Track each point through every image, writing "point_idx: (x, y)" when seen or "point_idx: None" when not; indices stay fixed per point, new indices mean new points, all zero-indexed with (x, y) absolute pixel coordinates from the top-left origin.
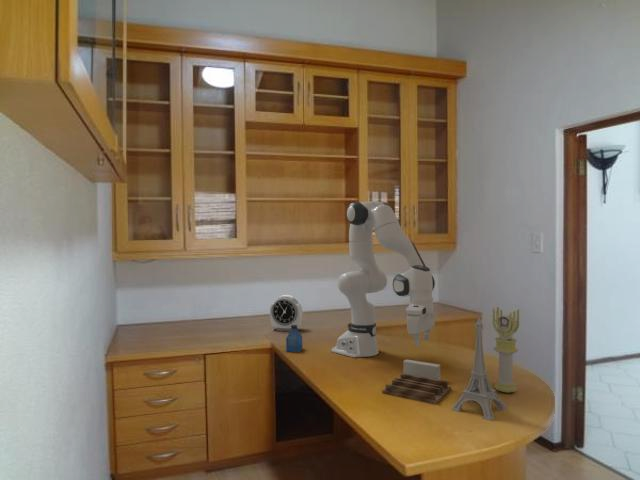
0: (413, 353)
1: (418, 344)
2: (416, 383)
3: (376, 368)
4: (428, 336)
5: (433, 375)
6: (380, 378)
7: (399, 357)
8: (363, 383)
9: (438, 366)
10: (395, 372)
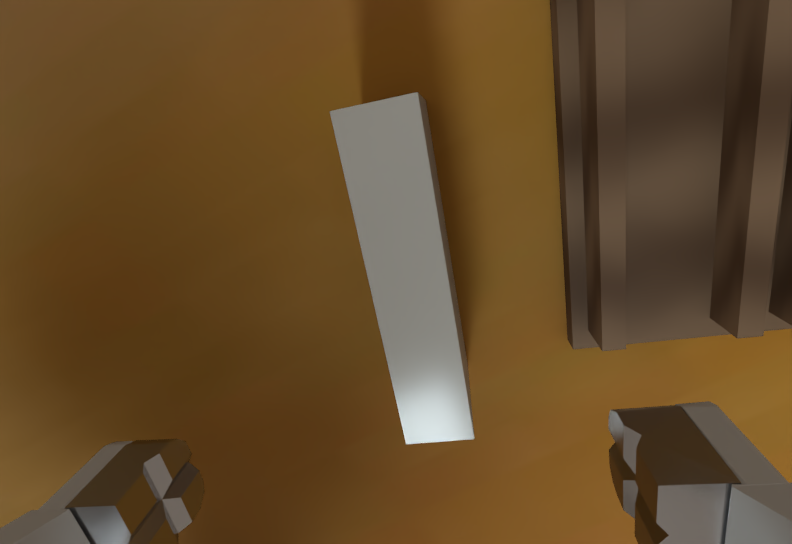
0: None
1: (712, 417)
2: (778, 128)
3: (451, 538)
4: (95, 487)
5: (429, 140)
6: None
7: None
8: None
9: (388, 98)
10: None
